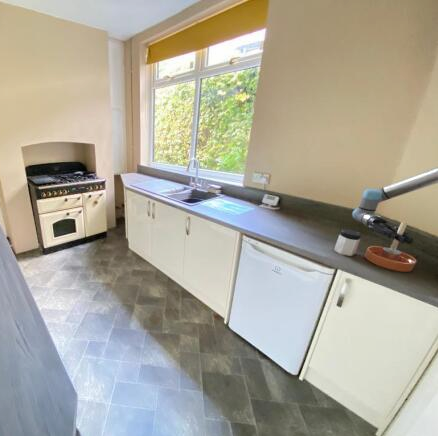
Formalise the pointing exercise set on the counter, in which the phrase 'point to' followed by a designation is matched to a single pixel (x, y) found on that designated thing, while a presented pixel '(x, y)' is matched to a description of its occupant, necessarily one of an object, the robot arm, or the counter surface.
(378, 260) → the bowl
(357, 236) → the jar
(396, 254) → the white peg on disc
